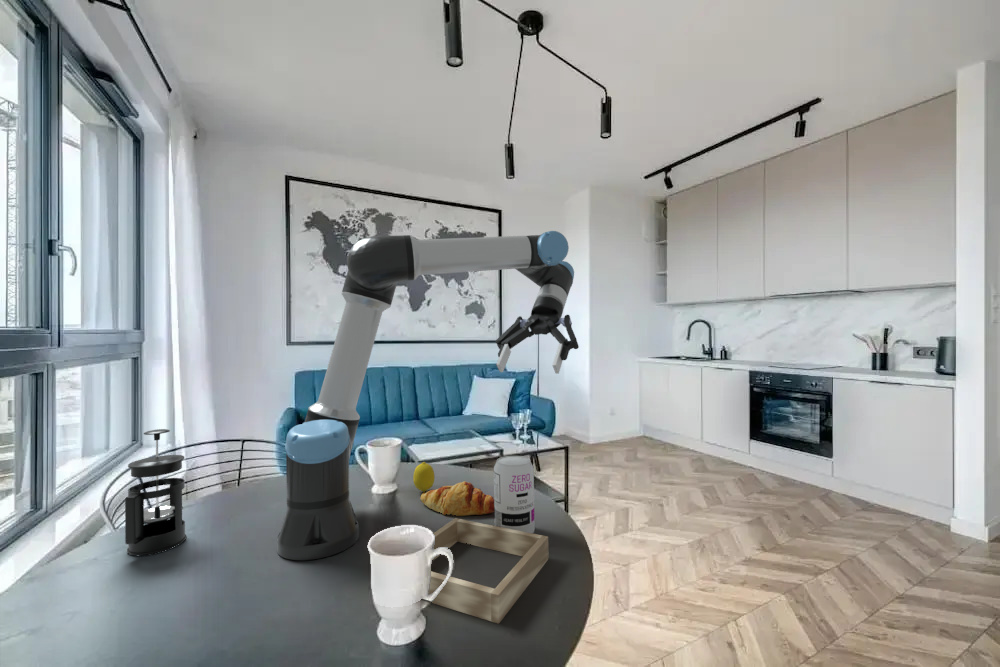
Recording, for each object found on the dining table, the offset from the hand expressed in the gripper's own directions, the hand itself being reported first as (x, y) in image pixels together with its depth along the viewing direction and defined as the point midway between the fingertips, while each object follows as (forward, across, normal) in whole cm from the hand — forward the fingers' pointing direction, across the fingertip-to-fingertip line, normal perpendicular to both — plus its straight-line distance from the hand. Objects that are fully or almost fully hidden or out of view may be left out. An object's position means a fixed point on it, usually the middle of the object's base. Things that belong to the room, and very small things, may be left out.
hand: (526, 369), depth 97 cm
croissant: (+25, +17, -23) cm, 38 cm away
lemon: (+21, +32, -27) cm, 47 cm away
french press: (+54, +63, +6) cm, 83 cm away
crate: (+41, 0, -6) cm, 41 cm away
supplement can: (+29, 0, -18) cm, 34 cm away
